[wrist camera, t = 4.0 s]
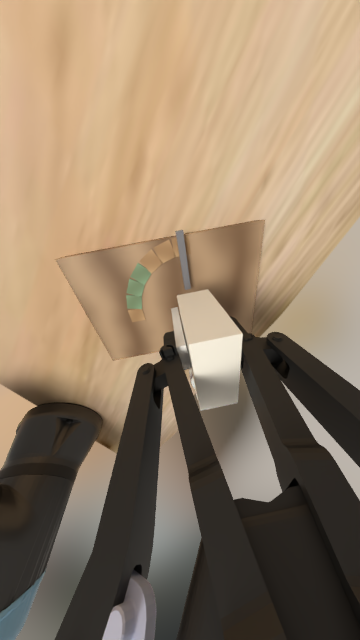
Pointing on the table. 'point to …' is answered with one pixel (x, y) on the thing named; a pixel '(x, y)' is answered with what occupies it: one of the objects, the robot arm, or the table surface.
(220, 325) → the white boxy piece
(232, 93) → the table surface
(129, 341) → the board
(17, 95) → the table surface
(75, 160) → the table surface
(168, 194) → the table surface
